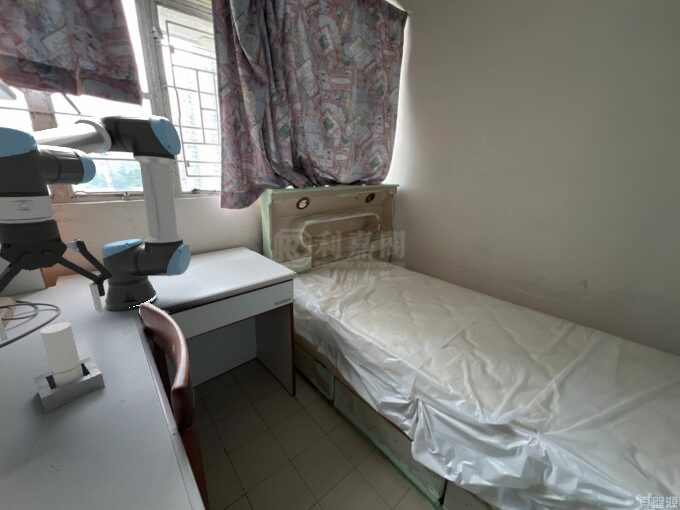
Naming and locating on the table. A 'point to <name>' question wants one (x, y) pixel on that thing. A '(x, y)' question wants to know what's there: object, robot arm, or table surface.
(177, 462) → the table surface
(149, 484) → the table surface
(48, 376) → the gray square frame
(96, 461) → the table surface
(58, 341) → the tube
